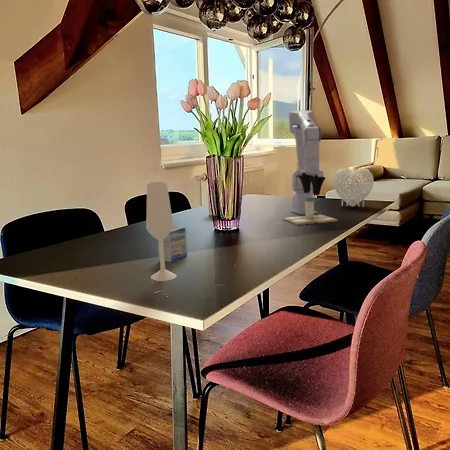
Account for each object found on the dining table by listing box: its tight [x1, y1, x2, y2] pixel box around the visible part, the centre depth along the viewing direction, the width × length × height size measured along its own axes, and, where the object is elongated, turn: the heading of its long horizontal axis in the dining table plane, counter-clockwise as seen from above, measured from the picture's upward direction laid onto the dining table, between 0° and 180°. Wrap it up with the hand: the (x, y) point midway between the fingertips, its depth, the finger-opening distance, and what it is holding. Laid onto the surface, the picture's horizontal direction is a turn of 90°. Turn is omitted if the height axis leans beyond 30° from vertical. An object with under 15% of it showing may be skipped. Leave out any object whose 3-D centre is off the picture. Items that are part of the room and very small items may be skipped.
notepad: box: [282, 213, 339, 226], centre depth 177 cm, size 13×17×1 cm
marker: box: [305, 197, 315, 219], centre depth 176 cm, size 3×3×8 cm
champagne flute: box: [145, 181, 177, 282], centre depth 112 cm, size 7×7×24 cm
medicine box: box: [157, 226, 188, 263], centre depth 131 cm, size 8×4×9 cm, turn 148°
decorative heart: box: [333, 167, 374, 208], centre depth 203 cm, size 18×11×17 cm, turn 54°
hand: (311, 193), depth 176 cm, fingers open, 7 cm apart
